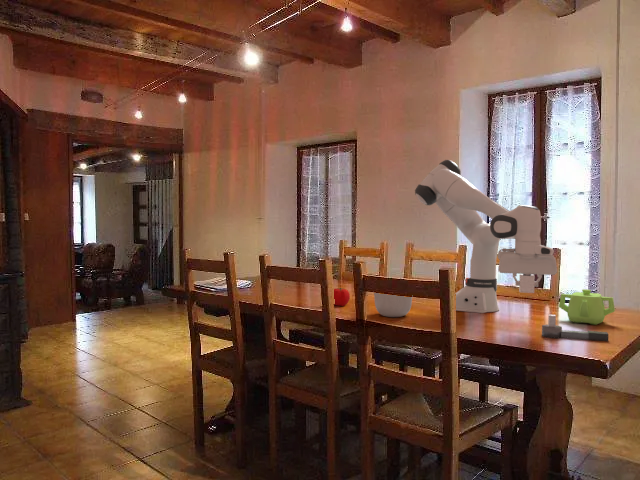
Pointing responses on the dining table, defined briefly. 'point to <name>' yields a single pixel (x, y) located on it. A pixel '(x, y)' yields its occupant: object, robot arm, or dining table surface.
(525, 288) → the cube with grey knob
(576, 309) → the teapot
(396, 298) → the white rounded bowl
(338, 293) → the tomato
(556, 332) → the ratchet
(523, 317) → the dining table surface
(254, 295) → the dining table surface
